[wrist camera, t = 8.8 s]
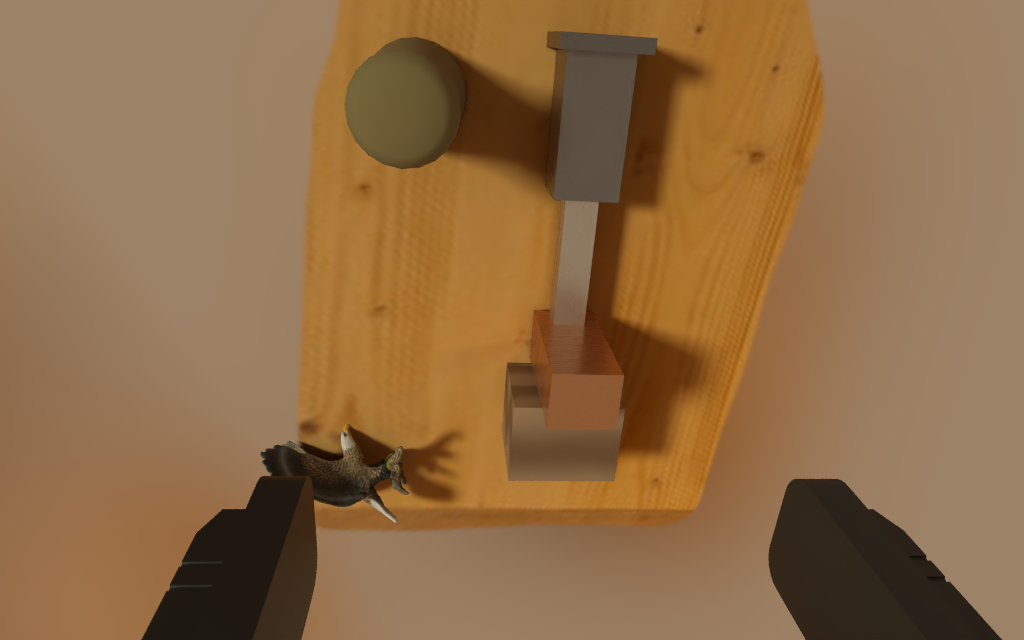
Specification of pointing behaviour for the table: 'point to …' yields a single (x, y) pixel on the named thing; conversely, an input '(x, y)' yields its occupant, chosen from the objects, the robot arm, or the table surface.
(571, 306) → the bar
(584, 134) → the sleeve
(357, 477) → the eagle figurine
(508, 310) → the table surface
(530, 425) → the socket block
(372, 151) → the olive green pawn
